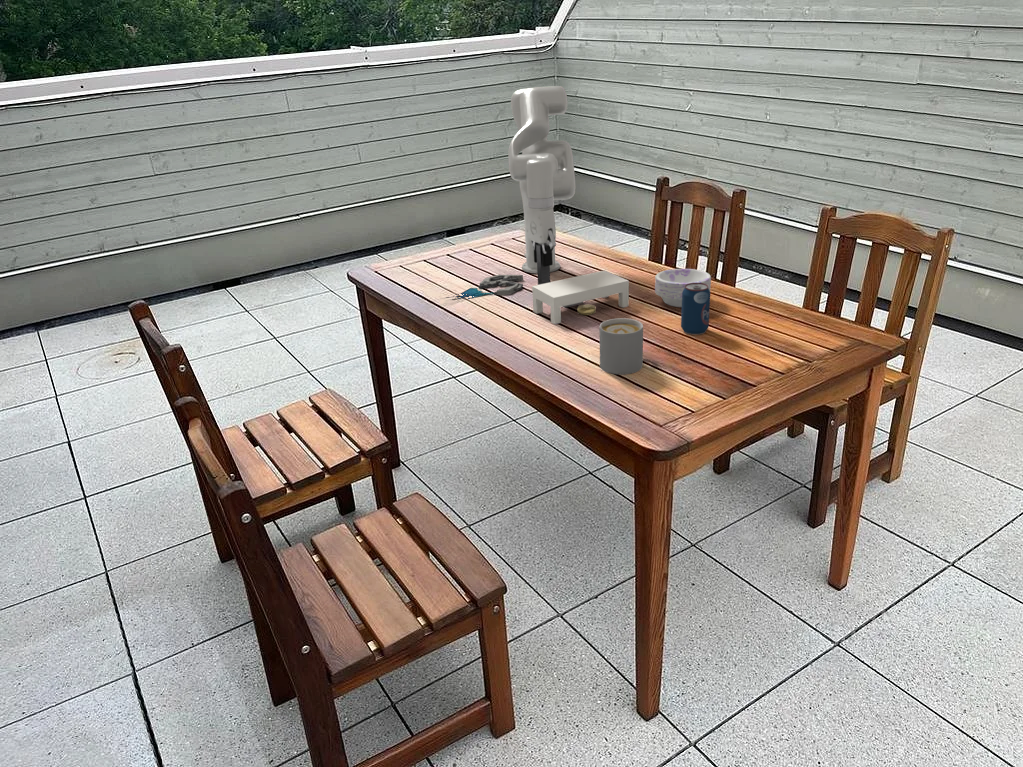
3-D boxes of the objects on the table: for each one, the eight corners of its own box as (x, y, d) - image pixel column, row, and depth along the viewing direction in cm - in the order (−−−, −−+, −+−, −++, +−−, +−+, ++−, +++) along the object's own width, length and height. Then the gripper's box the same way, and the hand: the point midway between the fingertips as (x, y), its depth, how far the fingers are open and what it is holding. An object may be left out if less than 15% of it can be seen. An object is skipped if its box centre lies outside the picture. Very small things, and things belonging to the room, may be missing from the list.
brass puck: (574, 312, 216) (574, 306, 216) (589, 308, 218) (589, 303, 217) (583, 317, 212) (583, 311, 211) (599, 313, 214) (598, 308, 213)
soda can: (709, 336, 194) (711, 290, 189) (680, 335, 196) (682, 290, 191) (707, 326, 200) (710, 281, 195) (680, 325, 202) (682, 281, 197)
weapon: (538, 288, 236) (515, 276, 249) (537, 282, 236) (515, 270, 248) (434, 315, 224) (415, 300, 236) (433, 309, 223) (415, 295, 235)
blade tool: (533, 290, 234) (531, 245, 228) (551, 286, 237) (549, 242, 231) (565, 307, 219) (563, 259, 213) (583, 303, 222) (582, 256, 216)
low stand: (533, 311, 218) (532, 286, 215) (604, 294, 227) (604, 270, 224) (554, 324, 208) (553, 297, 205) (628, 306, 217) (628, 280, 214)
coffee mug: (622, 378, 175) (622, 337, 171) (591, 366, 182) (590, 326, 178) (661, 360, 182) (662, 321, 178) (629, 349, 190) (629, 311, 185)
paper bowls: (686, 290, 227) (687, 263, 224) (721, 304, 215) (722, 276, 211) (643, 300, 221) (644, 273, 218) (676, 315, 209) (677, 287, 205)
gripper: (515, 199, 229) (519, 259, 237) (543, 209, 215) (546, 272, 223) (538, 196, 232) (540, 255, 239) (566, 205, 218) (568, 268, 226)
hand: (543, 263), depth 231 cm, fingers open, 4 cm apart
